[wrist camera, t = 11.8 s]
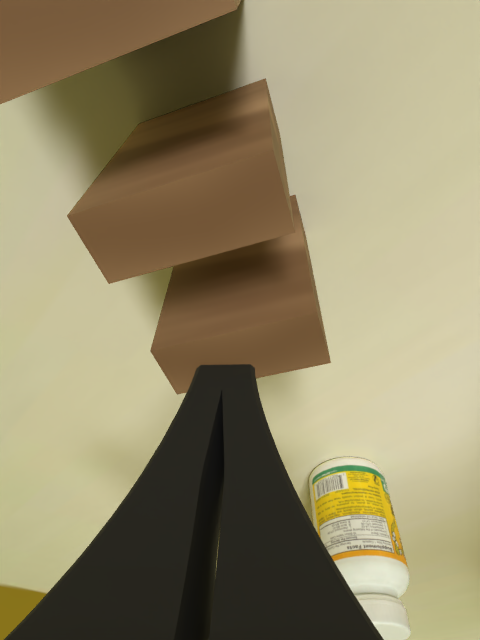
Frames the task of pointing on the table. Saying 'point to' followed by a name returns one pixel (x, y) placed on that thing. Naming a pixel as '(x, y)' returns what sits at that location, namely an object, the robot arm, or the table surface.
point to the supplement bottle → (363, 538)
